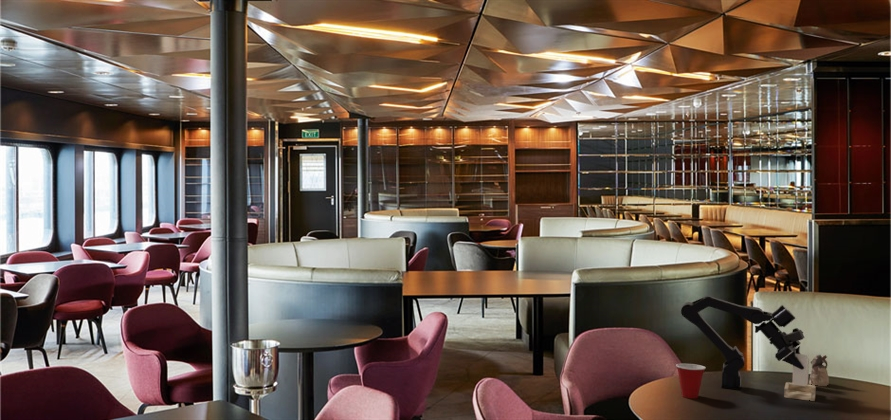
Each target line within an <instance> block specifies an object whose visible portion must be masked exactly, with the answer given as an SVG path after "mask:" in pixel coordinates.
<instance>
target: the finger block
mask: <svg viewBox="0 0 891 420" xmlns="http://www.w3.org/2000/svg"><path fill="white" fill-rule="evenodd" d="M796 357H797V358H798V359H799V361H800V362H801V364H802V365H803V367H804V369H803V370H801V369H799V368H797V367H795V366H793V365H792V382H791V383H792V384H793V385H799V386H806V385H807V383H808V384H809V371H808V358H809V357H810V356H809V355H808V354H801V353H800V354H796Z"/></svg>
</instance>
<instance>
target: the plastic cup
mask: <svg viewBox="0 0 891 420" xmlns="http://www.w3.org/2000/svg"><path fill="white" fill-rule="evenodd" d="M675 367H676V369H677V374H678V379H679V386H680V390H681V395H682V397H683V398H685V399H697V398H698V397H699V394H700V389H701V385H702V379H703V375H704V372H705V369H706V366H704V365H700V364H695V363H677V364H675Z"/></svg>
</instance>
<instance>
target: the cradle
mask: <svg viewBox="0 0 891 420" xmlns="http://www.w3.org/2000/svg"><path fill="white" fill-rule="evenodd" d="M809 361H810V359H809V357H808V372H809V367H810V366H809V363H810V362H809ZM816 387H817V386H815V385H811V384H809V382H808V383H807V385H806V386H799V385H793V384H792V382H789V381H787V382H785V385H784V389H783V390H784V392H783V393H784V394H783V397H784V398H788V399H796V400H803V401H809V400H810V401H812V402H815V401H816V389H817V388H816Z"/></svg>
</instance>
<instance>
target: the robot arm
mask: <svg viewBox="0 0 891 420" xmlns="http://www.w3.org/2000/svg"><path fill="white" fill-rule="evenodd" d="M707 308H713V309H717V310H720V311H723V312H727V313H728V314H733V315H736V316H738V317H741V318H742V319H744V320H746V321H747V322H750V323H751V324H754V325H755V326H754V327H755V328H754V330H755V331H754V333H756V334H758V333H759V332H761V333H762V334H763V335H764V337H766V339H767V340H768V341H769V344H770V345H773V346H774V348H775V349H777V350H776V351H777V352H776V353H775V354H774V355H775V359H776V360H777V361H778V362H780V361H782V362H785V363H787V364H790V365H791V366H792V367H793V366H795V367H797V368H799V369H801V370H803V369H804V367H803V365H802V364H801V362H800V361H799V359H798V358H797V357H796V354H801V352H800V351H801V344H802V343H801V341H802V340H804V339H805V336H804V332H803V330H802V329H799V328H797V327H795V328H793V329H792V332H790V333H786V332H785V331H782V330H781V329H780V328H782V327H783V328H785V327H787V326H788V325H789V324H790V323H792V322H793V321H794V320H796V316H794V314H793V313H792V312H791V311H790V310H788V309H787V308H786V307H785V306H784V305H783V304H781V305H780V306H779V307H778V308H777V309H776V310H774V311H773V312H768V311H765V310H763V309H761V307H757V306H751V305H749V306H748V305H740V304H736V303H733V302H729V301H727V300H724V299H720V298H717V297H713V296H712V295H710V294H709V295H705V296H704V297H702V298H699V299H696V300H694V301H693V302H692V301H691V302H689V301H688V302H684V304H682V306H681V308H680V309H681V310H680V314H681V316H682V317H683V318H684V319H685V320H687V321H688V322H690V323H691V324H693V325H695V327H697V328H698V329H699V330H700V331H701V332H702V333H703V334H704V336H705V337H706V338H707V339H708V340H709V341H710V342H711V343H712V344H713V345H714V346H715V347H716V348H717V349H718V351H720V353H721V354H722V356H723V359H724V360H725V361H724V362H723V363H722V364H723V365H722V370H721V385H720V388H723V389H731V390H740V388H741V386H742V375H741V373H740V370H741V369H743V368H744V367H745V357H744V353H743V352H741V351H740V350H739V349H738V347H737V346H736V345H735V346H734V347H732V346H731V345H729V344H728V343H727V342H726V341H725V340H724V339H723V338H722V336H720V335H719V333H718V332H717V331H716V330H715V329H714V328H713V327H712V326H711V325H710V324H709V323H708V322H707V321H706V319H705V318H704V317H703V315H702V314H701V311H703V310H705V309H707Z"/></svg>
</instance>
